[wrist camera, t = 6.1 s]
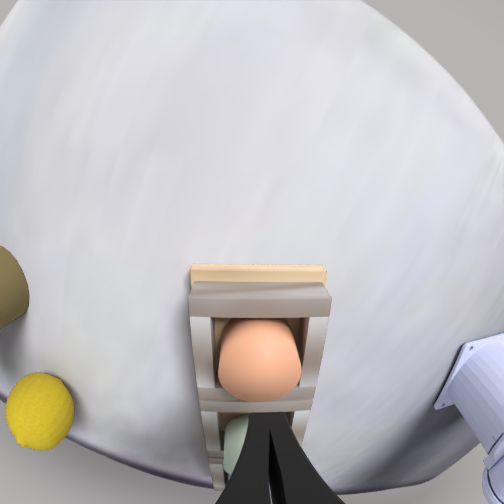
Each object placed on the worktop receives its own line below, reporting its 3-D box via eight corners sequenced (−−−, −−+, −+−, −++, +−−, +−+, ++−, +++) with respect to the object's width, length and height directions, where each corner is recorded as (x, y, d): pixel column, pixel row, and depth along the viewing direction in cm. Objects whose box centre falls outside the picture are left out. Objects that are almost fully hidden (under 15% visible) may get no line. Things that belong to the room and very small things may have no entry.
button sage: (287, 413, 16) (293, 449, 13) (281, 445, 18) (285, 478, 15) (223, 413, 16) (221, 451, 13) (225, 446, 17) (224, 479, 15)
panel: (192, 263, 16) (182, 286, 13) (322, 264, 16) (337, 287, 13) (214, 469, 23) (212, 492, 20) (286, 468, 23) (289, 491, 20)
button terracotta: (295, 309, 15) (306, 341, 13) (289, 365, 17) (296, 400, 14) (220, 309, 15) (216, 341, 12) (222, 366, 17) (220, 401, 14)
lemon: (85, 411, 20) (54, 476, 13) (36, 382, 19) (-2, 439, 12) (89, 375, 19) (48, 450, 11) (34, 343, 18) (-17, 404, 10)
